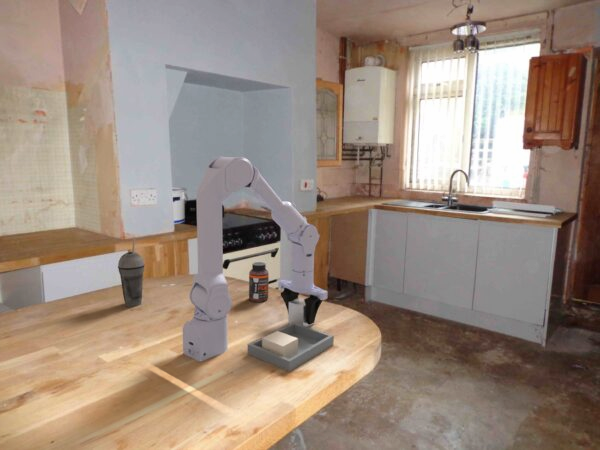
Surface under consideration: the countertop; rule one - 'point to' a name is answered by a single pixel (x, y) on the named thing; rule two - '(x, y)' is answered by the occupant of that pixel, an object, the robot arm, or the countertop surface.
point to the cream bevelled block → (281, 344)
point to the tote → (308, 346)
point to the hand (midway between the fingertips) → (301, 320)
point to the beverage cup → (131, 277)
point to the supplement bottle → (258, 282)
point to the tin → (298, 312)
